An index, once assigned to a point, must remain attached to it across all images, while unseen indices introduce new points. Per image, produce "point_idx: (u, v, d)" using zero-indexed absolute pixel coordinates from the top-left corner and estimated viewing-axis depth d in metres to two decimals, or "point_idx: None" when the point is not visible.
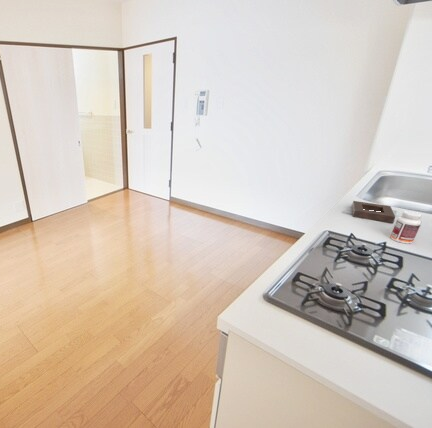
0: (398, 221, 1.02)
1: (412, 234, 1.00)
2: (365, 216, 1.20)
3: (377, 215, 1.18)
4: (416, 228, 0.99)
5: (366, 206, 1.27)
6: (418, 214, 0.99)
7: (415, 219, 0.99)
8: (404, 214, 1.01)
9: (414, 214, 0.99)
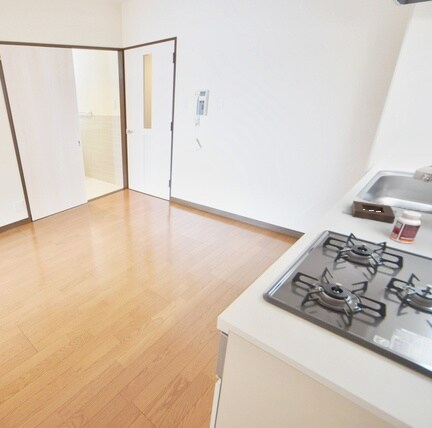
0: (398, 221, 1.02)
1: (412, 234, 1.00)
2: (365, 216, 1.20)
3: (377, 215, 1.18)
4: (416, 228, 0.99)
5: (366, 206, 1.27)
6: (418, 214, 0.99)
7: (415, 219, 0.99)
8: (404, 214, 1.01)
9: (414, 214, 0.99)
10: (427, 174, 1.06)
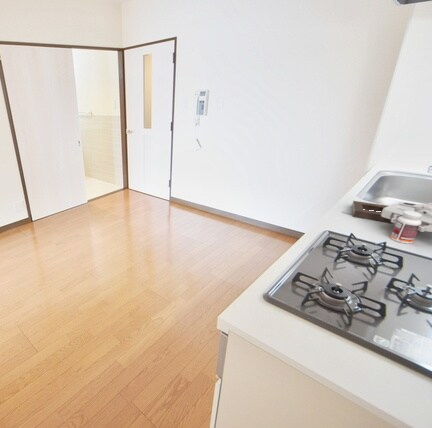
0: (398, 221, 1.02)
1: (412, 234, 1.00)
2: (365, 216, 1.20)
3: (377, 215, 1.18)
4: (416, 228, 0.99)
5: (366, 206, 1.27)
6: (418, 214, 0.99)
7: (415, 219, 0.98)
8: (404, 214, 1.01)
9: (414, 214, 0.99)
10: (397, 214, 1.07)
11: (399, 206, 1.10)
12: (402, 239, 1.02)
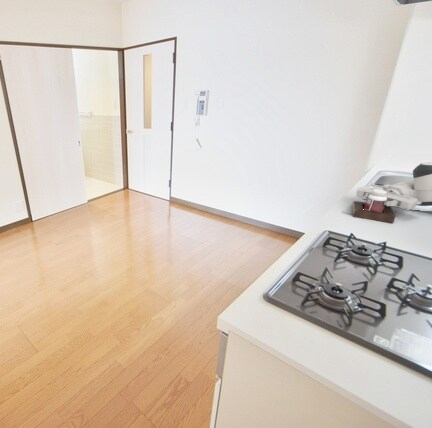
0: (368, 198, 1.22)
1: (380, 208, 1.20)
2: (365, 216, 1.20)
3: (377, 215, 1.18)
4: (382, 203, 1.19)
5: None
6: (384, 191, 1.19)
7: (382, 195, 1.18)
8: (373, 192, 1.20)
9: (381, 192, 1.19)
10: (368, 193, 1.27)
11: (371, 187, 1.30)
12: None
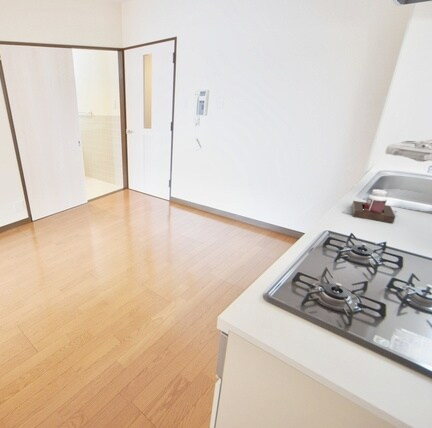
0: (368, 198, 1.22)
1: (380, 208, 1.20)
2: (365, 216, 1.20)
3: (377, 215, 1.18)
4: (382, 203, 1.19)
5: None
6: (384, 191, 1.19)
7: (382, 195, 1.18)
8: (373, 192, 1.20)
9: (381, 192, 1.19)
10: (396, 149, 1.24)
11: (401, 144, 1.27)
12: None
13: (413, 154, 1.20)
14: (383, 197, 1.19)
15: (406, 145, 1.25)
